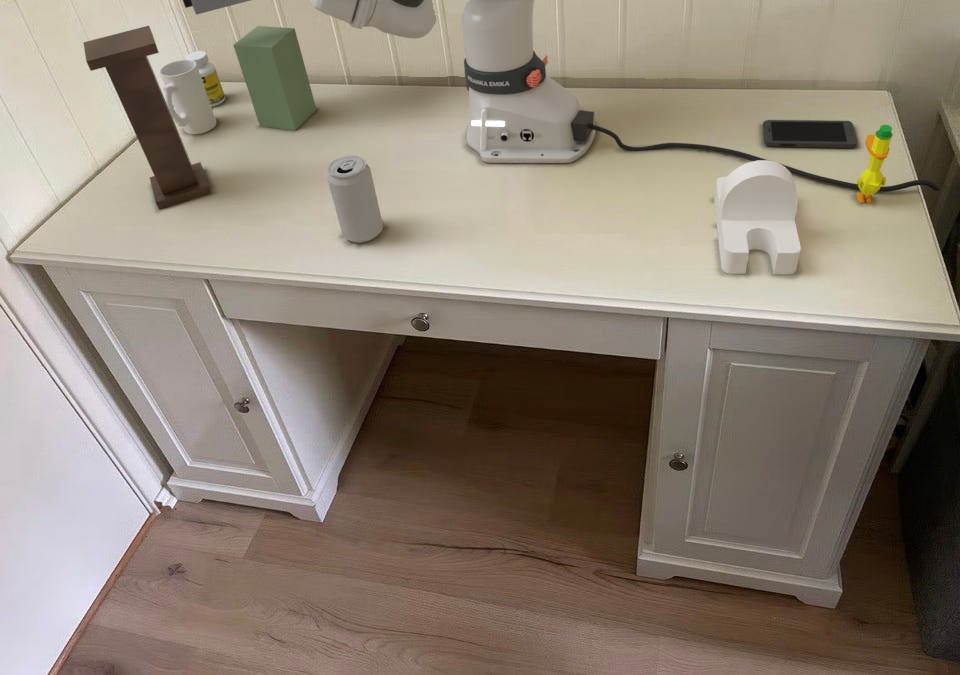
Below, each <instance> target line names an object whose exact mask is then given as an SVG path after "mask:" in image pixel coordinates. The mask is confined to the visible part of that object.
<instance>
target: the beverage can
mask: <svg viewBox="0 0 960 675" xmlns="http://www.w3.org/2000/svg"><path fill="white" fill-rule="evenodd" d="M326 179H327V183H328V187H329V190H330V194H331V198H332V202H333V205H334V208H335V213H336V216H337V220H338V224H339V226H340V230H341V234H342V236H343V237H344V238H345V239H346V240H347V241H350V242H353V243H358V244H361V243H367V242H370V241H372V240H374V239H375V238H376V237H378V236H379V235H380V233H381V232H383V228H384V222H383V219H382V218H383V217H382V214H381V209H380V205H379V201H378V197H377V191H376V188H375V183H374V178H373V173H372V170H371V167H370V166H369V164H368V163H367V160H366V159H365V158H363V157H362V156H359V155H345V156H341V157H338V158H336V159H334V160H332V162H330V163H329V164H328V166H327V175H326Z"/></svg>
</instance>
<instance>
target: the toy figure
mask: <svg viewBox="0 0 960 675" xmlns="http://www.w3.org/2000/svg"><path fill="white" fill-rule="evenodd" d="M892 131H893V127H892V126H891V125H889V124H882V125H880V126H879V129H877V130H876V131H875V134H867V135H866V138H865V147H866V149H867V151H868V153H869V154H870V155H869V161H868V168H866V169H865V170H864V171H862V172H861V174H860V177H859V178H858V179H857V181H856V184H858V187H859V189H860V190H859V191H860V192H856V197H855V199H856V200H857V201H858V202H859V203H860V204H865V202H866V203H867V204H871V203H872V195H874V194H875V193H878V192H877V191H878V190H880V187H881V186H886V182H887V178H886V176H884V174H883V173H882V171H881V168H882V165H883V164H884V161H885V159H887V158H888V156H889V152H890V144H891V140H892V137H893V133H892Z"/></svg>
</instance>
